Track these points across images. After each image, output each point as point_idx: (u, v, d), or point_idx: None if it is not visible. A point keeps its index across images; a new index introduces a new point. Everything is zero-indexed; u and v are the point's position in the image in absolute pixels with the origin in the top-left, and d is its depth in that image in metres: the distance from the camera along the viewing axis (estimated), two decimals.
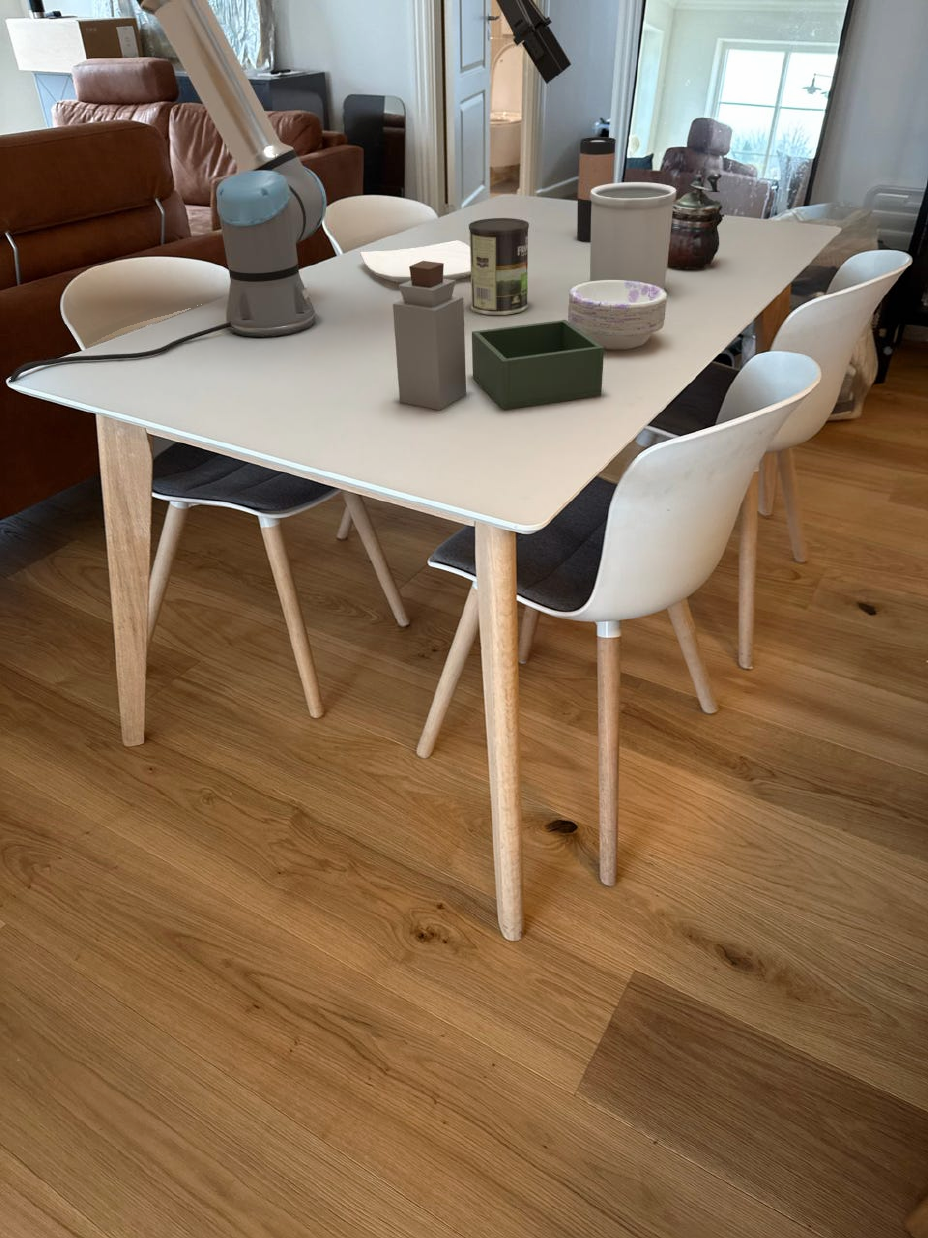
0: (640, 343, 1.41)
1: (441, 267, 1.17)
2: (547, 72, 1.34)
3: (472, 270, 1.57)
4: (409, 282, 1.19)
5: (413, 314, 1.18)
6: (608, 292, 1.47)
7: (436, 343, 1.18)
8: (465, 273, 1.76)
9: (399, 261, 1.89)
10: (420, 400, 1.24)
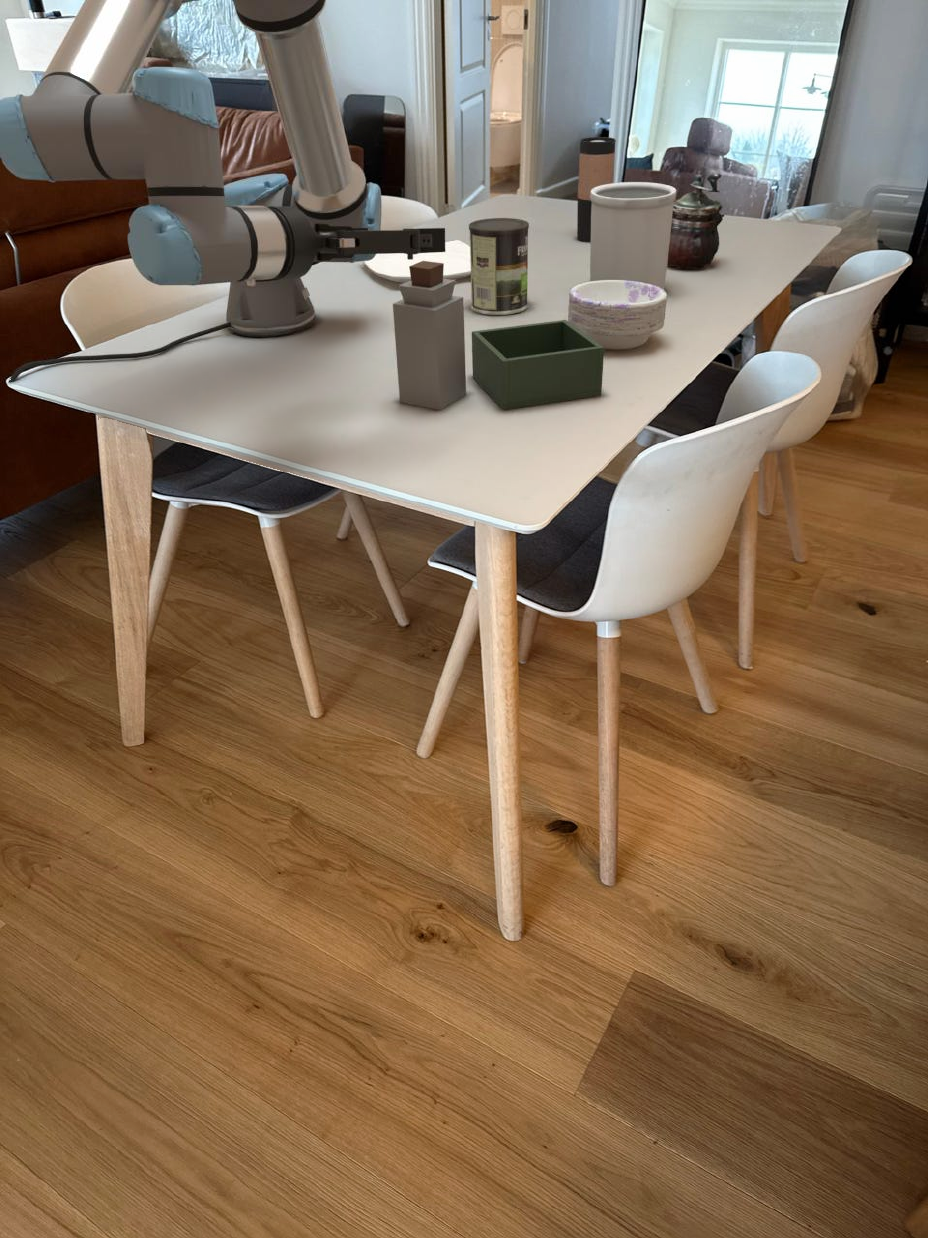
0: (640, 343, 1.41)
1: (441, 267, 1.17)
2: None
3: (472, 270, 1.57)
4: (409, 282, 1.19)
5: (414, 314, 1.18)
6: (608, 292, 1.47)
7: (436, 343, 1.18)
8: (465, 273, 1.76)
9: (399, 261, 1.89)
10: (420, 400, 1.24)
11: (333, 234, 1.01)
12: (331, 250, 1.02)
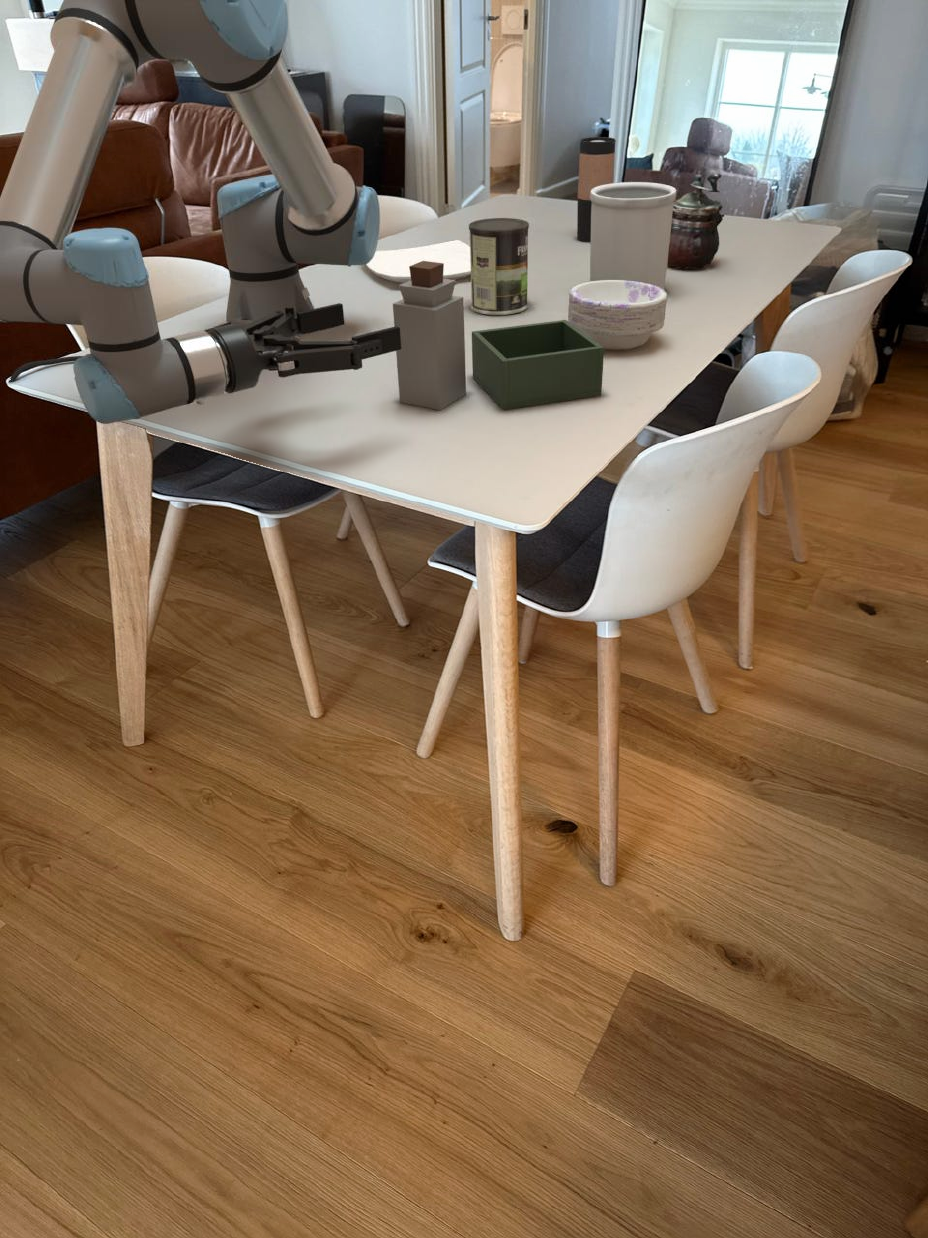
0: (640, 343, 1.41)
1: (441, 267, 1.17)
2: None
3: (472, 270, 1.57)
4: (409, 282, 1.19)
5: (414, 314, 1.18)
6: (608, 292, 1.47)
7: (436, 343, 1.18)
8: (465, 273, 1.76)
9: (399, 261, 1.89)
10: (420, 400, 1.24)
11: (276, 352, 1.05)
12: (275, 367, 1.06)
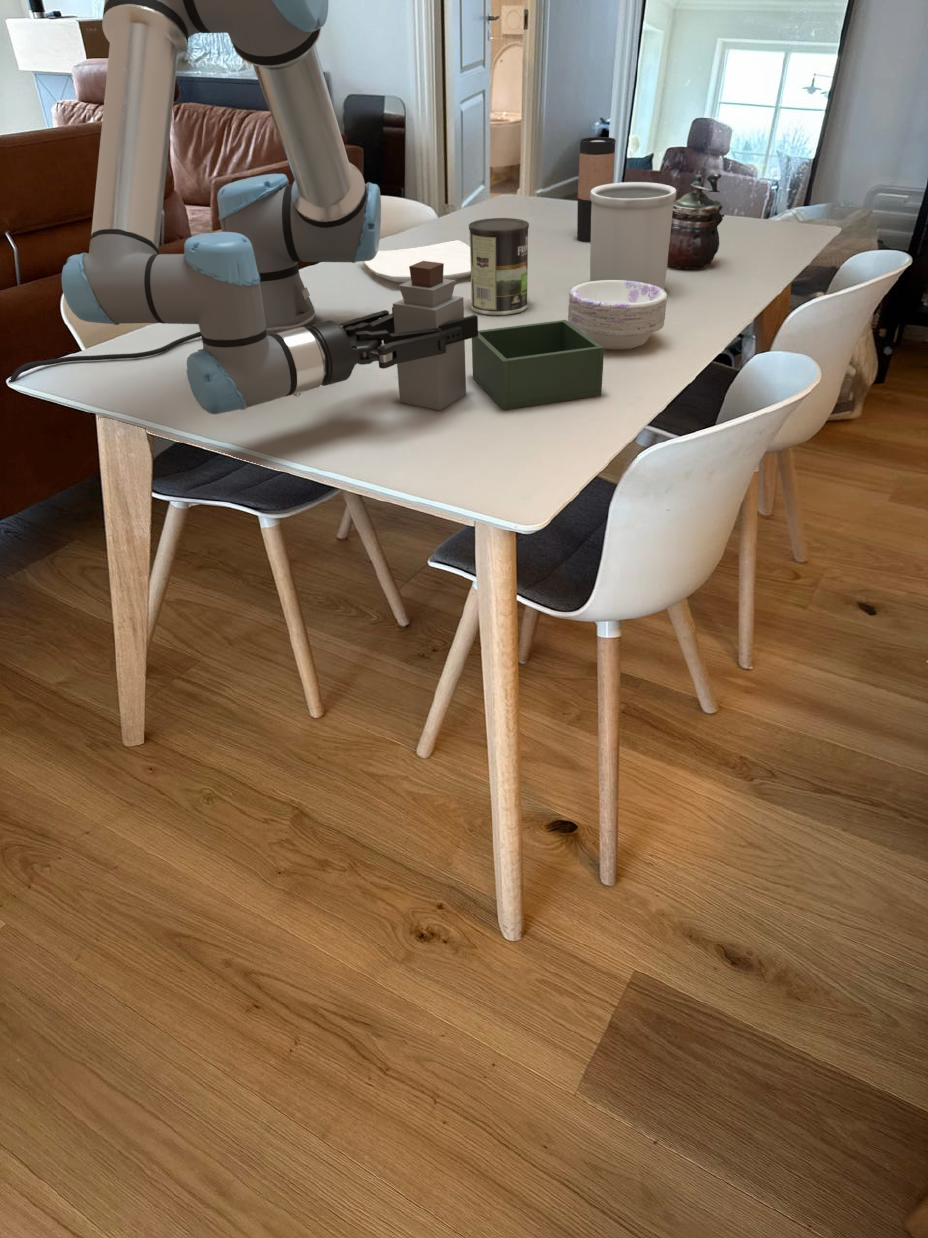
0: (640, 343, 1.41)
1: (441, 267, 1.17)
2: None
3: (472, 270, 1.57)
4: (409, 282, 1.19)
5: (414, 314, 1.18)
6: (608, 292, 1.47)
7: None
8: (465, 273, 1.76)
9: (399, 261, 1.89)
10: (420, 400, 1.24)
11: (369, 347, 1.13)
12: (368, 361, 1.13)
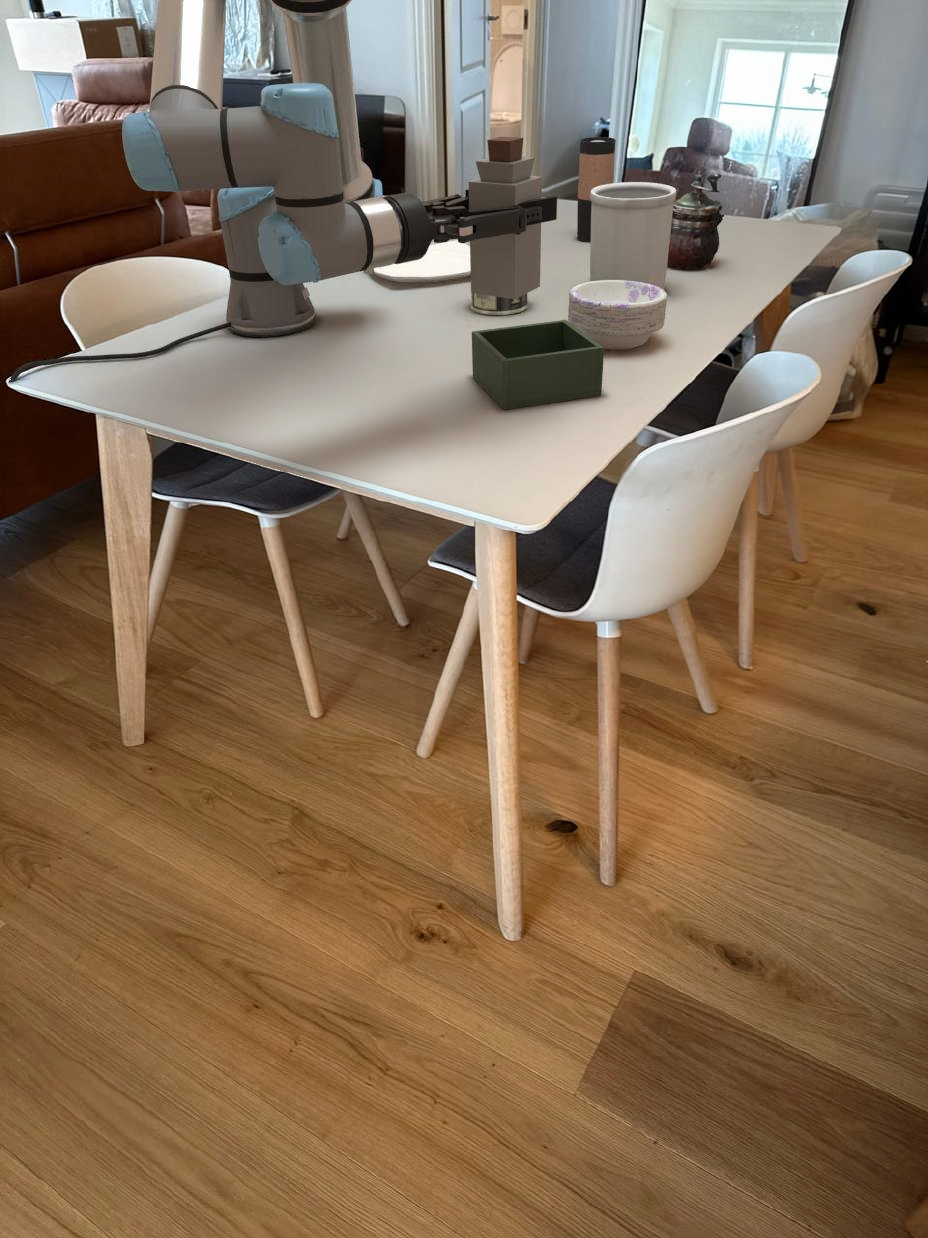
0: (640, 343, 1.41)
1: (520, 142, 1.11)
2: None
3: None
4: (486, 159, 1.13)
5: (491, 192, 1.12)
6: (608, 292, 1.47)
7: None
8: (465, 273, 1.76)
9: None
10: (493, 289, 1.18)
11: (448, 221, 1.06)
12: (445, 236, 1.07)
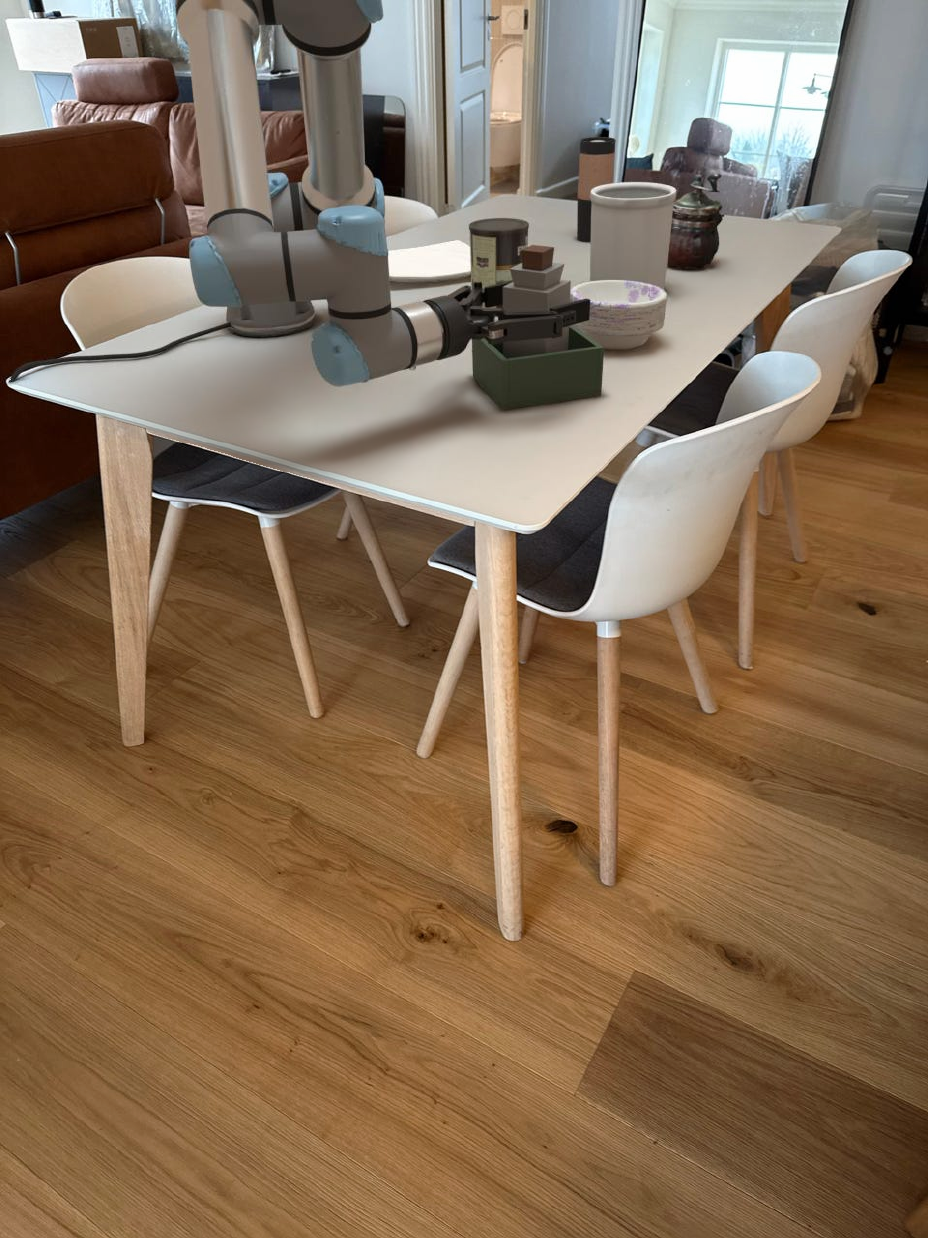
0: (640, 343, 1.41)
1: (551, 251, 1.19)
2: None
3: (472, 270, 1.57)
4: (519, 266, 1.21)
5: (524, 297, 1.20)
6: (608, 292, 1.47)
7: None
8: (465, 273, 1.76)
9: (399, 261, 1.89)
10: None
11: (485, 322, 1.14)
12: (482, 335, 1.15)
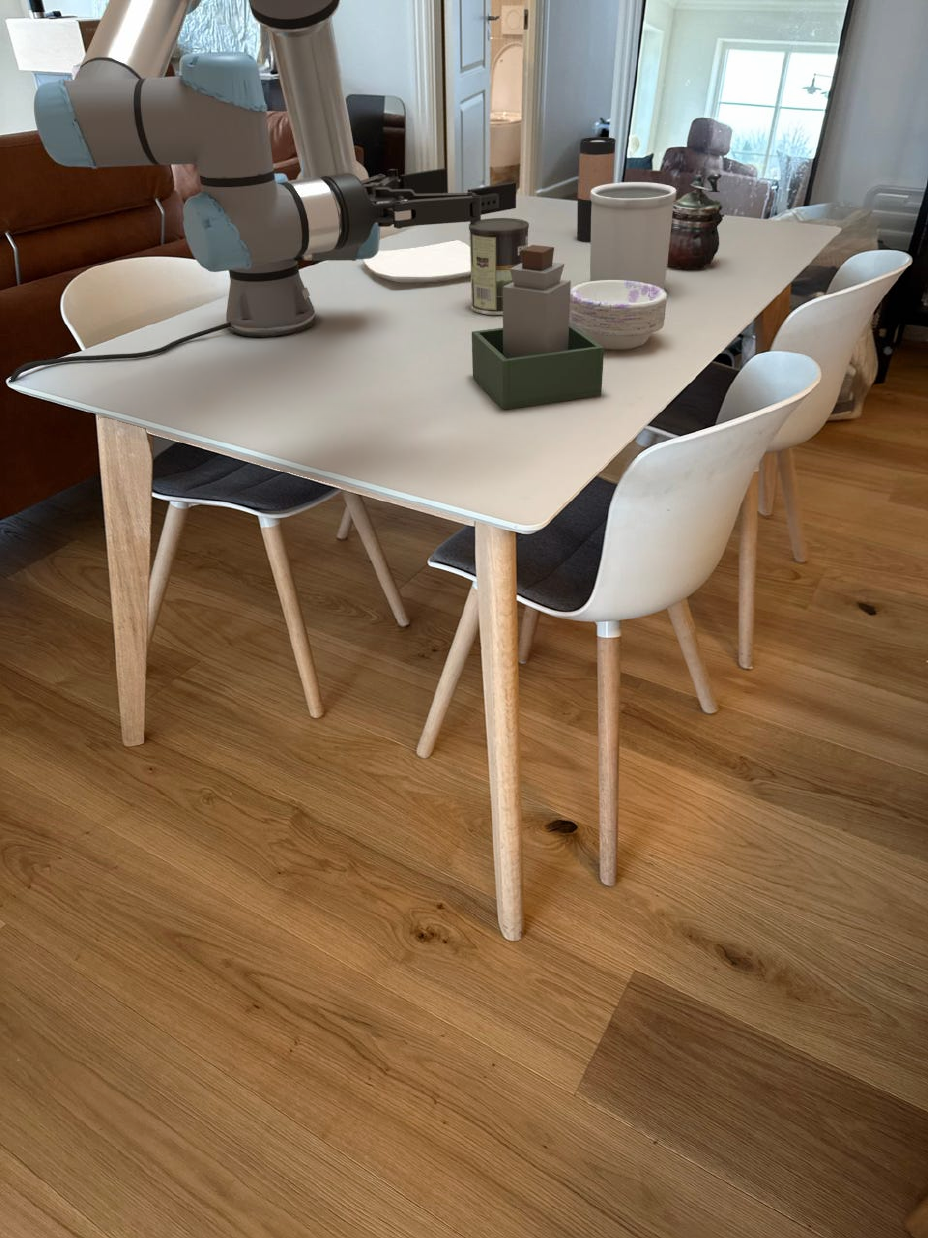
0: (640, 343, 1.41)
1: (551, 251, 1.19)
2: None
3: (472, 270, 1.57)
4: (519, 266, 1.21)
5: (524, 297, 1.20)
6: (608, 292, 1.47)
7: (546, 325, 1.20)
8: (465, 273, 1.76)
9: (399, 261, 1.89)
10: None
11: (391, 203, 0.99)
12: (389, 219, 1.00)
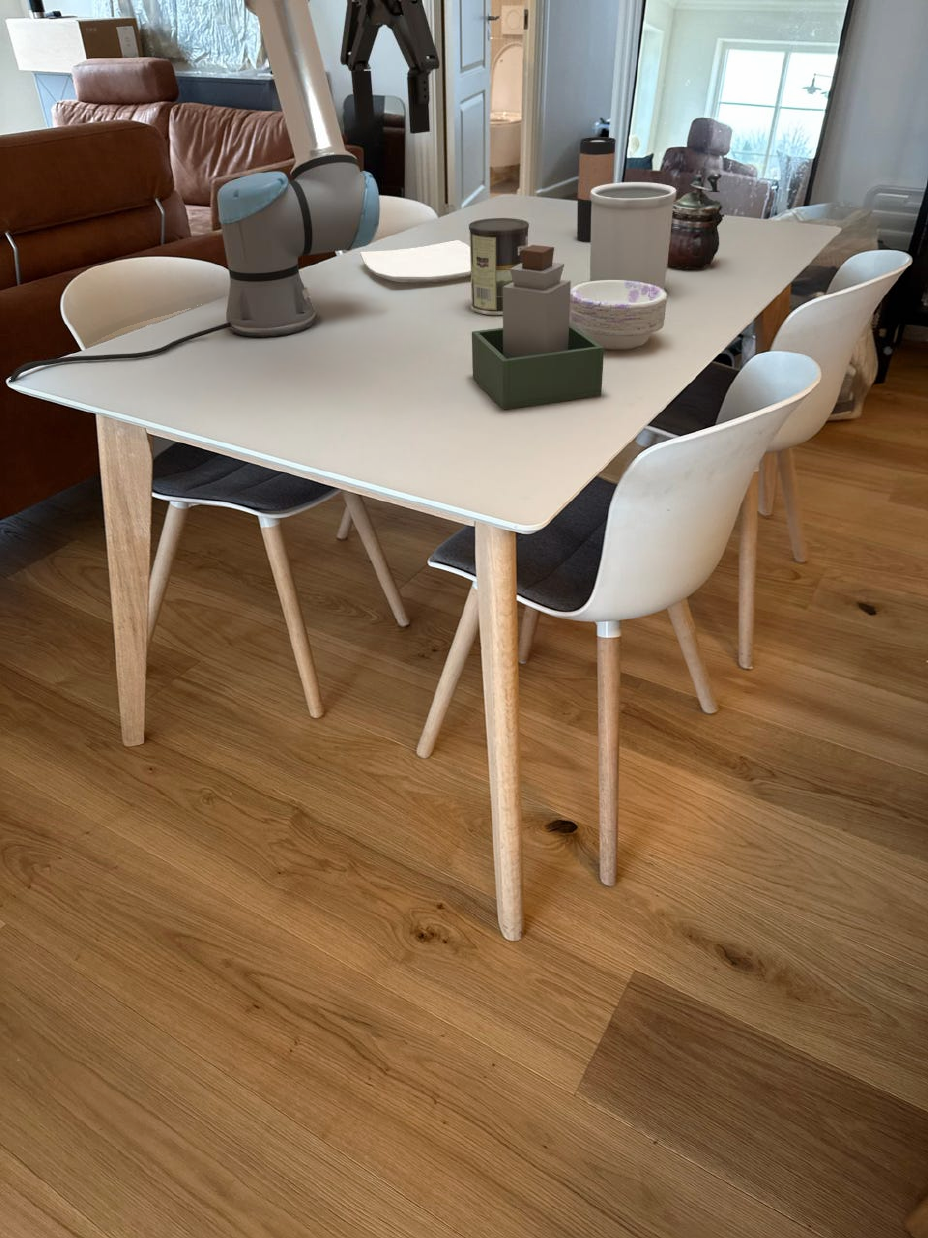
0: (640, 343, 1.41)
1: (551, 251, 1.19)
2: None
3: (472, 270, 1.57)
4: (519, 266, 1.21)
5: (524, 297, 1.20)
6: (608, 292, 1.47)
7: (546, 325, 1.20)
8: (465, 273, 1.76)
9: (399, 261, 1.89)
10: None
11: None
12: None
